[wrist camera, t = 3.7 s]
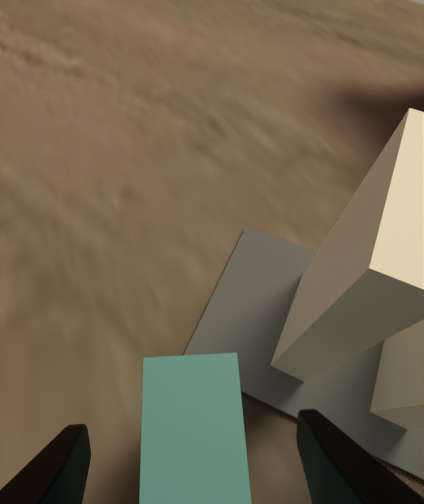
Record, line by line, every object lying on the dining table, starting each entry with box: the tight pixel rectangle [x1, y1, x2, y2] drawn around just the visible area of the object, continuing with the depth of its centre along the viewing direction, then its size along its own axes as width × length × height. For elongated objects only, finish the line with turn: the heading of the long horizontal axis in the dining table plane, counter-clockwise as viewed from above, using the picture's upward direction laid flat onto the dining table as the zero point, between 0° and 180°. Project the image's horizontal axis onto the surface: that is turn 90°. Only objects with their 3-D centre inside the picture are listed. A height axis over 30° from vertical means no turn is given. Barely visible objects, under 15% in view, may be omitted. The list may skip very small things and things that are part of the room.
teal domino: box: [139, 353, 251, 504], centre depth 9 cm, size 2×5×10 cm, turn 4°
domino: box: [270, 108, 424, 382], centre depth 12 cm, size 2×5×10 cm, turn 156°
